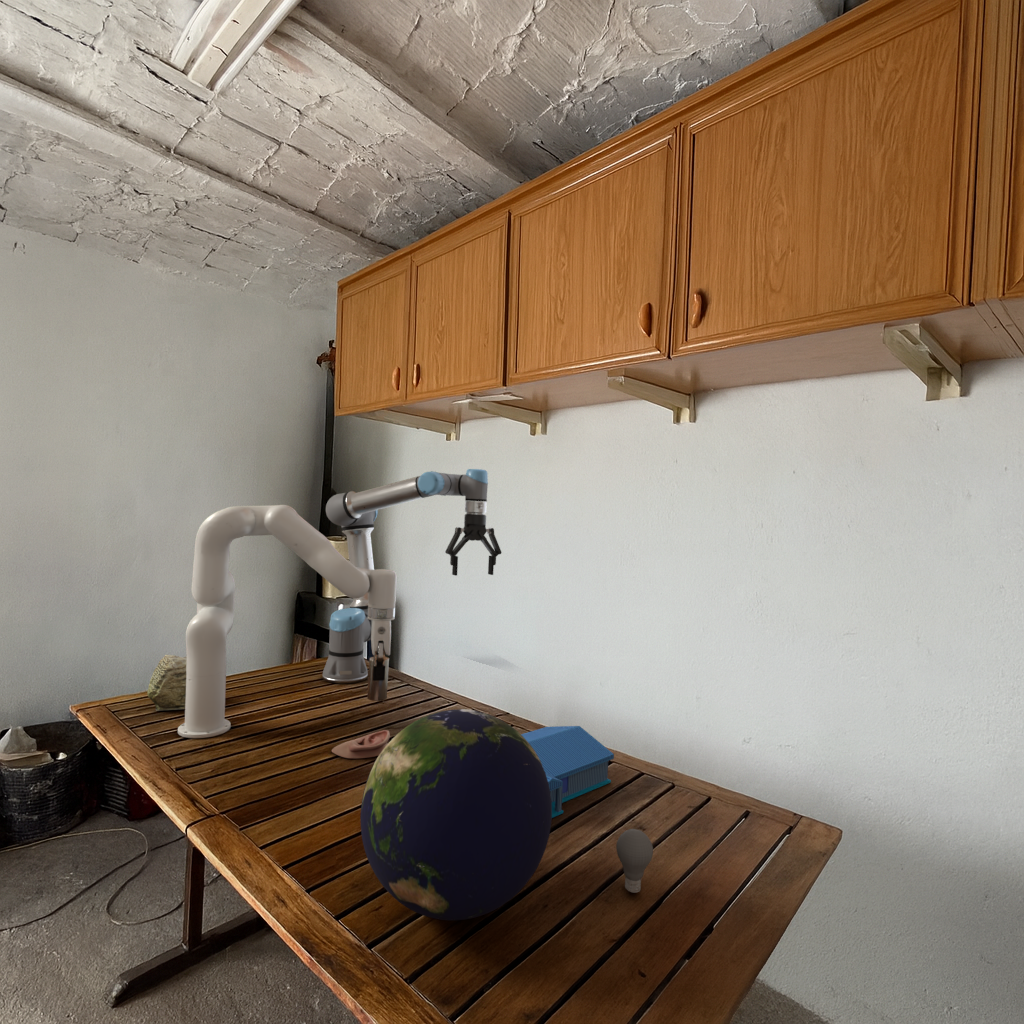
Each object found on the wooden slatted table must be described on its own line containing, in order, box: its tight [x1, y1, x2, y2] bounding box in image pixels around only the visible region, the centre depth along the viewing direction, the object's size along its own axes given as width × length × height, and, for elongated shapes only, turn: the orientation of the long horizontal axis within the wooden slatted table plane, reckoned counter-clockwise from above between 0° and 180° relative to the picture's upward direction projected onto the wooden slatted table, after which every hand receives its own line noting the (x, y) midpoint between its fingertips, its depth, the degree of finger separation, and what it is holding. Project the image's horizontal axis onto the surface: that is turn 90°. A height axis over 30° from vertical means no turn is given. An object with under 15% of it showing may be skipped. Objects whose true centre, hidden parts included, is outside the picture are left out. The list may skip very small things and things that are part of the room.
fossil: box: [147, 654, 187, 712], centre depth 185 cm, size 9×18×15 cm, turn 132°
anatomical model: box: [331, 729, 391, 759], centre depth 159 cm, size 13×4×12 cm
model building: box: [520, 725, 615, 819], centre depth 140 cm, size 39×24×10 cm, turn 132°
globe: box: [360, 708, 553, 922], centre depth 100 cm, size 30×30×30 cm
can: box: [366, 656, 390, 702], centre depth 179 cm, size 5×5×11 cm
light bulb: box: [615, 828, 654, 894], centre depth 106 cm, size 6×6×10 cm
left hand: (378, 676), depth 179 cm, fingers closed on can, 5 cm apart
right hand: (472, 574), depth 220 cm, fingers open, 13 cm apart
